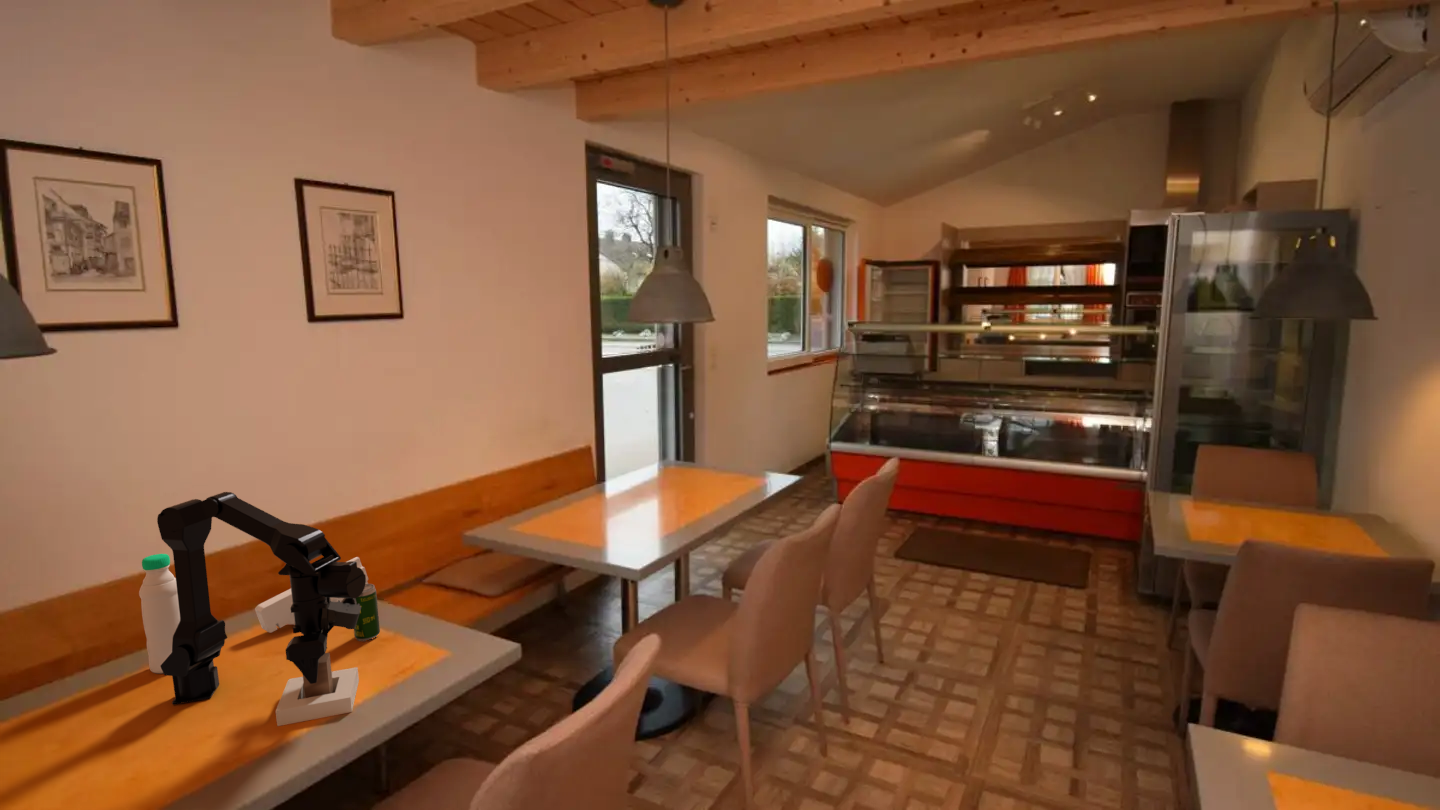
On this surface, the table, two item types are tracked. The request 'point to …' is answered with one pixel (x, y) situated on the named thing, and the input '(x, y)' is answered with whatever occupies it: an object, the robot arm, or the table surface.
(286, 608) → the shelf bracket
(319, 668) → the walnut post
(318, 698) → the well block
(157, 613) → the water bottle
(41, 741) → the table surface
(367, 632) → the beer can
